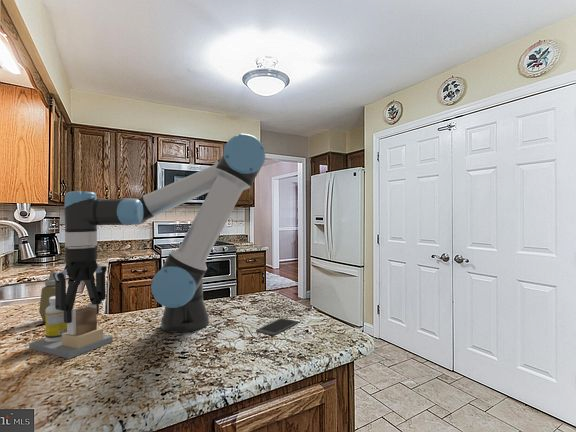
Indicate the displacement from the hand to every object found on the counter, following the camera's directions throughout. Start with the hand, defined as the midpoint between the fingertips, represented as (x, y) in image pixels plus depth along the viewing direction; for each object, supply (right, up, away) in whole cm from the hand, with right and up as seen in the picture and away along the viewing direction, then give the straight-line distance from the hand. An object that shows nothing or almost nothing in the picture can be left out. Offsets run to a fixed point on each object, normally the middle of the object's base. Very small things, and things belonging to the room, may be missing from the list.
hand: (82, 330), depth 87 cm
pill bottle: (-9, -4, +4) cm, 11 cm away
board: (-4, -5, +2) cm, 7 cm away
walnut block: (0, 0, 0) cm, 0 cm away
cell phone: (+54, -4, +13) cm, 56 cm away
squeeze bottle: (-27, -6, +25) cm, 37 cm away
